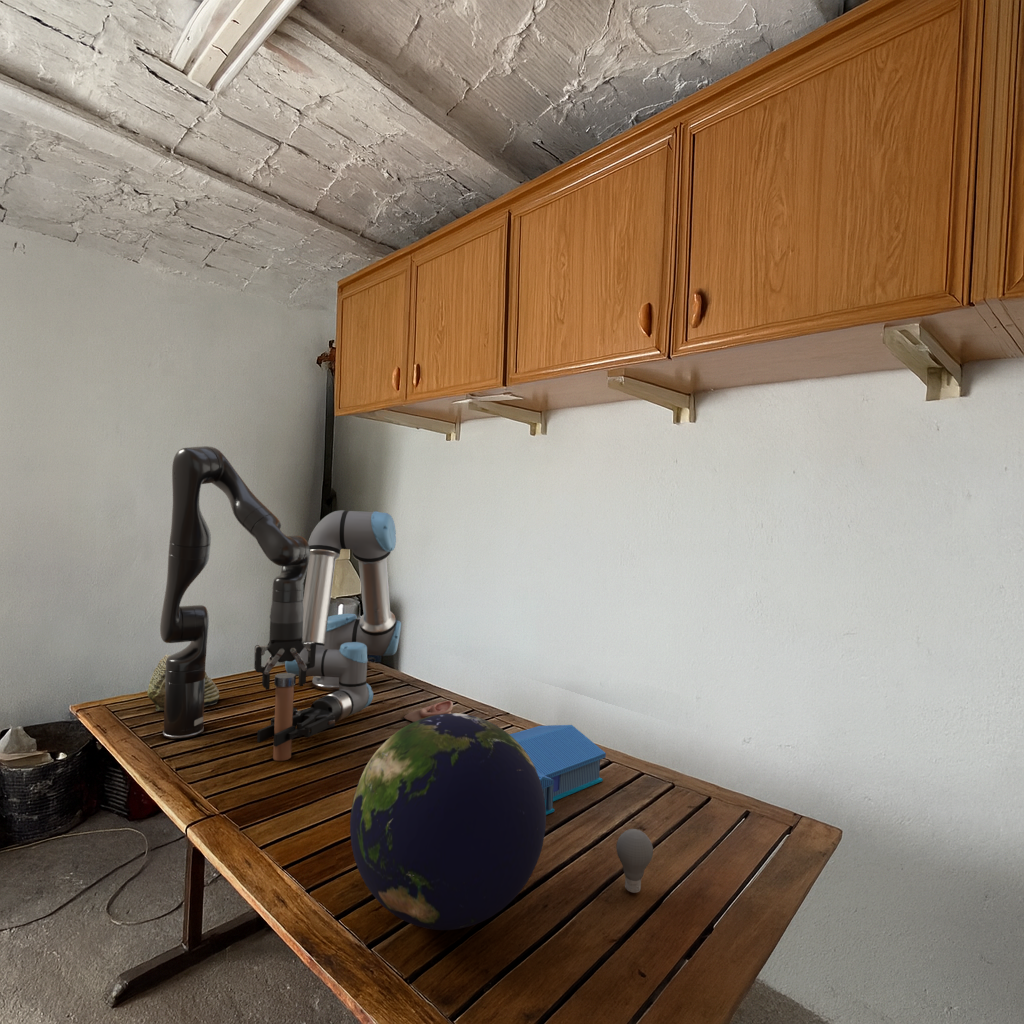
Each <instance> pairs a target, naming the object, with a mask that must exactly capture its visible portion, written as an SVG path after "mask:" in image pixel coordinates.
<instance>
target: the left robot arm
mask: <svg viewBox="0 0 1024 1024" xmlns="http://www.w3.org/2000/svg"><path fill="white" fill-rule="evenodd" d="M171 483H172V510H171V527H170V535H169V543H168V557H167V572H166V573H167V575H166V585H165V591H164V598H163V603H162V610H161V616H160V623H159V632H160V638H161V640H162V641H163V642H164V643H166V644H176V643H177V644H178V643H189V642H190V643H189V644H188V645H187V646H186V647H185V648H183V649H182V650H179V651H177V652H175V653H173V654H170V655H171V656H169V657H168V658H167V660H166V674H165V705H164V710H163V731H162V737H164V738H166V739H169V740H185V739H190V738H191V739H192V738H194V737H197V736H199V735H202V734H203V732H204V730H205V729H204V722H205V721H204V718H205V706H204V693H205V672H206V664H207V663H206V660H207V648H208V636H209V625H210V617H209V616H210V615H209V611H208V609H207V607H206V606H205V605H203V604H198V605H197V604H195V605H193V604H192V605H181V602H182V600H183V597H184V595H185V593H186V592H187V590H188V588H189V587H190V586H191V585H192V584H193V582H194V581H195V580H196V579H197V577H199V575H200V574H201V573H202V571H203V570H204V569H205V567H206V566H207V564H208V562H209V559H210V554H211V545H212V544H211V542H212V536H211V535H212V534H211V531H210V527H209V525H208V523H207V521H206V519H205V517H204V515H203V514H202V510H201V507H200V506H201V505H200V497H201V496H200V495H201V488H202V485H208V484H212V485H214V486H215V487H217V488H218V489H219V490H221V491H222V492H223V494H224V495H225V496H226V498H227V499H228V501H229V505H230V508H231V511H232V514H233V515H234V518H235V519H236V520H237V522H238V524H239V525H241V526H242V527H243V528H244V530H246V531H247V532H248V533H249V534H250V535H251V536H252V537H253V538H254V539H255V540H256V542H257V544H258V546H259V548H260V549H261V550H262V552H263V554H264V556H266V558H267V559H268V560H269V561H270V562H272V563H273V564H275V565H276V566H279V567H281V570H280V572H279V574H278V575H277V576H276V577H275V578H274V579H273V581H272V590H271V591H272V595H271V606H270V612H269V641H268V643H267V645H260V644H256V645H254V661H253V662H254V663H253V665H254V670H255V672H256V673H257V674H258V673H260V674H262V681H261V685H262V687H263V688H264V689H265V690H266V691H267V690H268V691H269V690H270V688H271V687H270V685H271V683H270V681H271V674H270V673H271V671H272V669H273V668H274V667H275V666H276V664H277V663H285V661H289V662H290V661H293V660H296V662H297V663H298V665H299V666H300V669H299V676H298V686H299V687H304V685H305V684H306V683H307V676H306V671H307V669H309V668H313V667H314V666H315V654H316V644H315V643H314V642H313V641H311V642H309V643H304V642H303V614H304V608H303V598H304V582H305V580H306V577H307V570H308V564H309V560H310V548H309V544H308V540H306V538H304V537H303V536H301V535H286V534H284V533H283V531H282V530H281V529H282V523H281V521H280V519H279V518H278V517H277V516H276V515H275V514H274V513H273V512H272V511H271V510H270V509H269V508H268V507H267V506H266V505H265V504H263V502H262V501H261V500H259V498H258V497H257V496H256V495H255V494H254V493H253V492H252V491H251V489H250V487H248V486H247V484H246V483H245V481H244V480H243V479H242V477H241V476H240V475H239V474H238V472H237V471H236V469H235V468H234V467H233V465H232V464H231V462H230V461H229V460H228V458H227V457H226V456H225V455H224V453H222V452H221V451H220V450H219V449H218V448H216V447H214V446H210V445H209V446H203V445H202V446H190V447H182V448H180V449H178V451H177V452H176V453H175V455H174V457H173V460H172V466H171ZM304 647H305V648H306V650H307V651H308V662H307V663H304V662H303V660H302V659H301V657H300V656H299V654H300V652H301V651H302V650H303V648H304ZM266 651H268V653H269V654H270V655H269V657H268V659H267V660H266V663H265V664H264V665H263V666H262V662H263V661H262V658H263V657H262V656H264V655H265V653H266Z"/></svg>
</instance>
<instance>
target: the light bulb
mask: <svg viewBox="0 0 1024 1024" xmlns="http://www.w3.org/2000/svg"><path fill="white" fill-rule="evenodd" d="M615 849H616V854H617V857H618V859H619V861H620V863H621V865H622V867H623V873H624V874H623V875H624V876H625V878H624V888H625V890H627V891H628V892H630V893H634V894H635V893H639V892H640V891H641V889H642V887H641V886H642V879H643V877H644V875H645V871H646V868H647V867H648V866H649V864H650V863H651V861H652V859H653V855H654V847H653V843H652V841H651V838H649V836H648V835H647V834H646V833H645V832H643V831H642V830H641V829H636V828H629V829H627V830H625V831H623V832H622V833H621V834H620V835H619V837H618V839H617V841H616V847H615Z"/></svg>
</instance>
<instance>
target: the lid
mask: <svg viewBox="0 0 1024 1024" xmlns="http://www.w3.org/2000/svg"><path fill="white" fill-rule="evenodd" d="M273 680H274V682H273V684H274V686H275V687H276V686H278V687H289V686H293V685H294V686H295V685H296V683H297V682H296V681H297V675H295V674H293V673H287V672H282V673H281V672H280V673H277V674H275V675H274V679H273Z"/></svg>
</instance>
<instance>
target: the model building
mask: <svg viewBox="0 0 1024 1024" xmlns="http://www.w3.org/2000/svg"><path fill="white" fill-rule="evenodd" d="M509 735H511V736H512V737H513V738H514V739H515V740H516V741H517V742H518V743H519V744H520V745H521V747H522V748H523V749H524V750H525V752H526V753H527V754H528V756H529V758H530V759H531V761H532V763H533V764H534V766H535V768H536V771H537V774H538V776H539V779H540V782H541V785H542V789H543V794H544V799H545V807H546V816H547V815H549V814H550V815H551V814H552V813H554V812H555V810H556V809H555V808H553V807H554V802H556V801H558V800H561V799H563V798H566V797H568V796H571V795H572V794H575V793H578V792H581V791H583V790H584V789H587V788H590V787H592V786H594V785H596V784H599V783H601V782H603V781H604V779H603V778H602V777H600V771H601V769H600V768H601V760H603V759H605V758H606V757H607V753H606V752H605V751H604V750H603V749H601V747H600V746H598V745H597V744H596V743H594V741H592V740H591V739H590V738H588V737H587V736H586V735H585V734H584V733H582V732H581V731H580V730H579V729H578V728H576V726H574V725H573V724H552V725H547V724H546V725H538V726H533V727H531V728H528V729H524V730H523V729H522V730H521V731H517V732H513V733H509Z"/></svg>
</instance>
